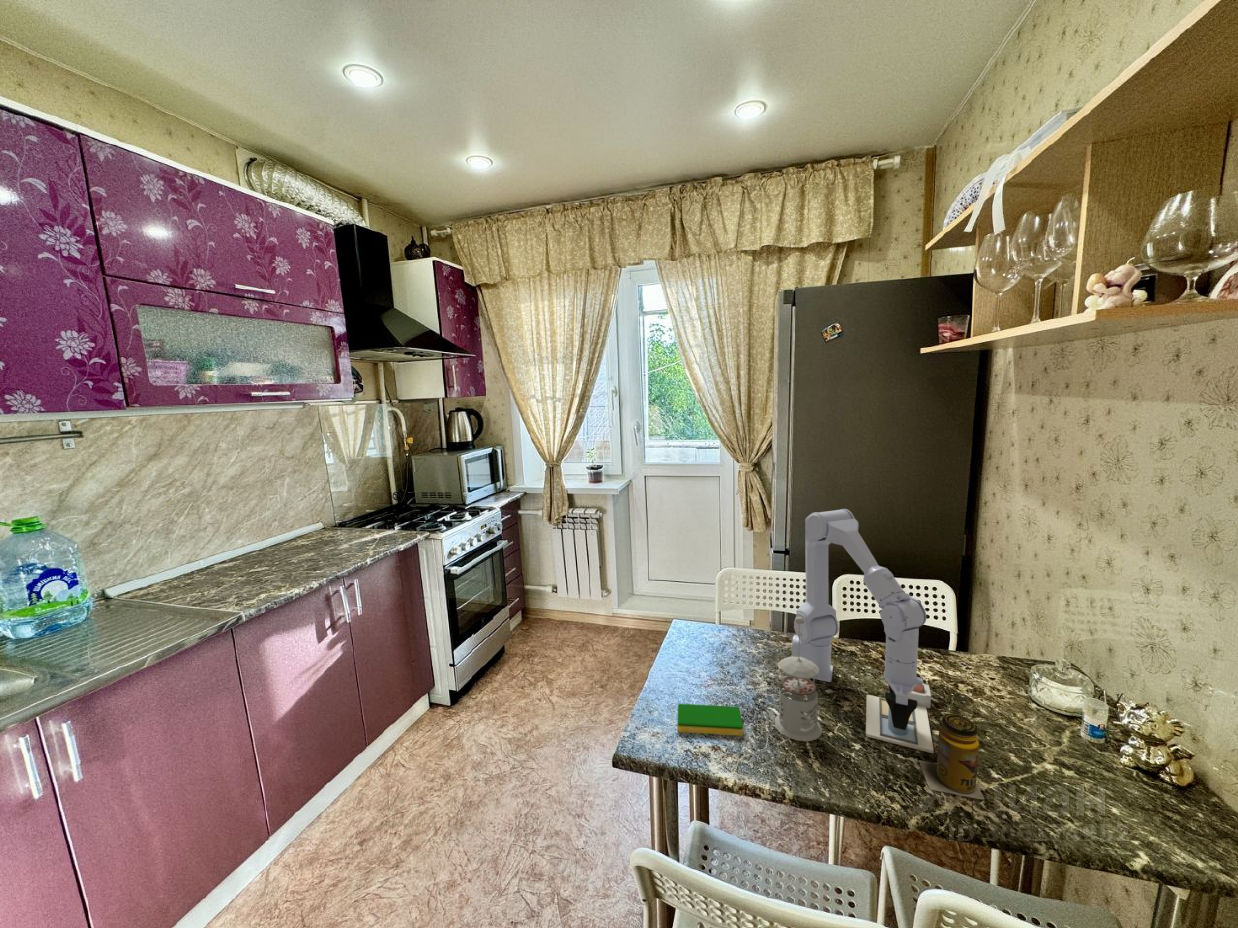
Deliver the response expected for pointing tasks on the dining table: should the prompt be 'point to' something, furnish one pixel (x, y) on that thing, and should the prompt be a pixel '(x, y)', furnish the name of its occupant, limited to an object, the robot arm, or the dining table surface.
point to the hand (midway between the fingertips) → (898, 716)
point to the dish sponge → (709, 719)
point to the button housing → (922, 697)
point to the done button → (918, 689)
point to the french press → (798, 698)
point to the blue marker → (891, 727)
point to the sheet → (879, 730)
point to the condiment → (955, 759)
